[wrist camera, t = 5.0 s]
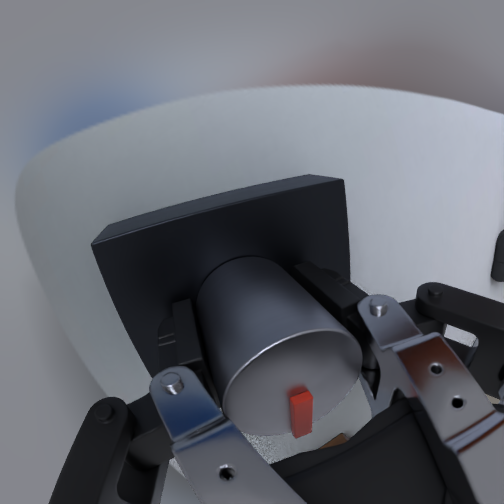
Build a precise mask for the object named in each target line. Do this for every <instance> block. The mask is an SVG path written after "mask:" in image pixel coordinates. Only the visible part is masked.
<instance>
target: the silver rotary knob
mask: <svg viewBox="0 0 504 504" xmlns="http://www.w3.org/2000/svg"><path fill="white" fill-rule="evenodd" d="M196 312H197V317H198V322H199V326H200V330H201V334H202V339H203V343H204V347H205V351H206V355H207V358H208V362H209V366H210V370H211V374H212V377H213V381H214V385H215V388H216V392H217V395H218V399H219V402H220V405H221V409H222V412H223V414H224V415H225V416H226V417H227V416H228V417H229V418H230V419H231V420H232V422H233V423H234V424H235V425H236V426H237V428H238V429H239V430H240V431H241V432H244V433H247V434H251V435H258V436H271V435H279V434H284V433H288V432H292V434H293V436H294V437H295V438H299V437H301V436H304V435H306V434H309V433H311V432H312V423H313V422H315V421H317V420H319V419H320V418H322V417H323V416H325V415H326V414H328V413H329V412H330V411H331V410H333V409H334V408H335V407H336V406H337V405H338V404H339V403H340V402H341V401H342V400H343V399H344V398H345V397H346V396H347V395H348V393H349V392H350V391H351V389H352V388H353V386H354V385H355V383H356V381H357V379H358V377H359V374H360V371H361V367H362V361H363V356H362V350H361V347H360V344H359V342H358V340H357V339H356V338H355V337H354V336H353V335H352V334H351V333H350V332H349V331H348V330H347V329H346V328H345V327H344V326H343V325H342V324H341V323H340V322H338V321H337V320H336V319H335V318H334V317H333V316H332V315H331V314H330V313H329V312H328V311H327V310H326V309H325V308H324V307H323V306H322V305H321V304H320V303H319V302H318V301H316V300H315V299H314V298H313V297H312V296H311V295H310V294H309V293H308V292H307V291H306V290H305V289H304V288H303V287H302V286H301V285H300V284H299V283H298V282H296V281H295V280H294V279H293V278H292V277H291V276H290V275H289V274H288V273H287V272H286V271H285V270H284V269H283V268H282V267H280V266H279V265H278V264H276V263H275V262H273V261H271V260H268V259H265V258H261V257H242V258H238V259H234V260H231V261H229V262H227V263H225V264H223V265H221V266H220V267H218V268H217V269H216V270H214V271H213V272H212V273H211V274H210V275H209V276H208V278H207V279H206V280H205V281H204V283H203V285H202V286H201V288H200V291H199V293H198V297H197V302H196Z"/></svg>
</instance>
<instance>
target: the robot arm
mask: <svg viewBox="0 0 504 504" xmlns="http://www.w3.org/2000/svg"><path fill="white" fill-rule="evenodd" d="M291 274H292V278H293V279H294V280H295V281H296V282H298V283H299V284H300V285H301V286H302V287H303V288H304V289H305V290H306V291H307V292H308V293H309V294H310V295H311V296H312V297H313V298H314V299H315V300H316V301H318V302H319V303H320V304H321V305H322V306H323V307H324V308H325V309H326V310H327V311H328V312H329V313H330V314H331V315H332V316H333V317H334V318H335V319H336V320H337V321H338V322H340V323H341V324H342V325H343V326H344V327H345V328H346V329H347V330H348V331H349V332H350V333H351V334H352V335H353V336H354V337H355V338H356V339H357V340H358V342H359V344H360V347H361V350H362V356H363V361H362V367H361V371H360V374H359V380H360V382H361V385H362V387H363V390H364V392H365V395H366V397H367V400H368V402H369V405H370V408H371V413H372V419H371V420H370V421H369V422H368V423H367V424H366V425H365V426H364V427H363V428H362V429H360V430H359V431H358V432H357V433H356V434H355V435H354V436H353V437H351V438H350V439H349V440H348V441H346V442H345V443H342V444H339V445H335V446H331V447H327V448H322V449H318V450H313V451H308V452H303V453H299V454H296V455H294V456H291V457H289V458H286V459H283V460H281V461H278V462H275V463H272V464H268V463H267V462H266V461H265V460H264V459H263V458H262V456H261V455H260V454H259V453H258V452H257V451H256V449H255V448H254V447H253V446H252V445H251V444H250V442H249V441H248V440H247V439H246V438H245V436H244V435H243V434H242V433H241V431H240V430H239V429H238V428H237V426H236V425H235V424H234V423H233V422H232V420H231V419H230V418H229V417H228V416H227V417H226V416H225V415H224V414H223V413H222V411H221V410H220V409H219V408H221V405H220V402H219V399H218V395H217V392H216V388H215V385H214V381H213V377H212V374H211V370H210V366H209V362H208V358H207V355H206V351H205V347H204V343H203V339H202V334H201V330H200V326H199V322H198V317H197V315H196V312H195V309H194V306H193V303H192V301H191V299H190V298H189V299H186V300H182V301H179V302H176V303H172V311H173V317H170V318H167V319H163V320H162V322H161V324H160V326H159V327H158V374H156V375H155V376H154V378H153V379H152V381H151V383H150V386H149V391H150V392H149V393H148V394H146V395H145V396H143V397H142V398H140V399H138V400H136V401H134V402H132V403H130V404H127V405H126V403H125V402H124V401H123V400H121V399H120V398H117V397H107V398H104V399H101V400H99V401H98V402H96V403H95V404H94V405H93V406H92V407H91V408H90V410H89V411H88V413H87V415H86V417H85V420H84V421H83V424H82V426H81V428H80V430H79V432H78V434H77V436H76V439H75V441H74V443H73V445H72V447H71V450H70V452H69V454H68V456H67V459H66V461H65V463H64V466H63V468H62V471H61V473H60V475H59V478H58V480H57V483H56V485H55V488H54V491H53V493H52V496H51V499H50V502H49V504H160V501H161V496H162V491H163V487H164V481H165V478H166V473H167V468H168V464H169V460H170V459H172V458H174V457H175V459H176V460H177V462H178V464H179V466H180V468H181V470H182V472H183V473H184V475H185V477H186V479H187V481H188V482H189V484H190V486H191V487H192V489H193V491H194V492H195V494H196V495H197V497H198V499H199V500H200V502H201V504H504V303H501V302H498V301H495V300H492V299H489V298H486V297H483V296H480V295H477V294H473V293H470V292H467V291H464V290H461V289H458V288H454V287H451V286H448V285H445V284H441V283H437V282H429V283H425V284H422V285H421V286H419V287H418V289H417V294H416V299H413V300H409V301H405V302H401V303H398V302H397V301H396V300H395V299H394V298H392V297H390V296H387V295H381V294H377V295H370V296H369V295H368V294H367V293H365V292H364V291H362V290H361V289H360V288H358V287H357V286H355V285H354V284H353V283H351V282H349V281H348V280H347V279H346V278H343V276H341V275H340V274H339V273H337V272H336V271H333V270H329V269H326V268H323V269H320V268H319V267H317V266H316V265H315V264H313V263H312V262H311V261H307V262H304V263H301V264H298V265H295V266H292V268H291ZM447 324H448V325H451V326H454V327H456V328H459V329H462V330H464V331H467V332H470V333H472V334H474V335H475V336H476V337H477V338H478V346H476V347H469V346H466V345H464V344H461V343H459V342H456V341H454V340H451V339H449V338H446V337H444V334H445V330H446V327H447ZM485 394H488V395H490V396H493V397H495V398H497V399H499V400H500V402H499V403H498V404H491V402H490V401H489V399H488V398H487V396H486V395H485Z"/></svg>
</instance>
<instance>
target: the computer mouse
mask: <svg viewBox="0 0 504 504" xmlns="http://www.w3.org/2000/svg"><path fill="white" fill-rule="evenodd" d="M491 276H492V278H493V279H494V280H496V281H498V282H504V230H503V231H502V232H501V233H500V234H499V236H498V239H497V243H496V249H495V255H494V261H493V266H492V272H491Z"/></svg>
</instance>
